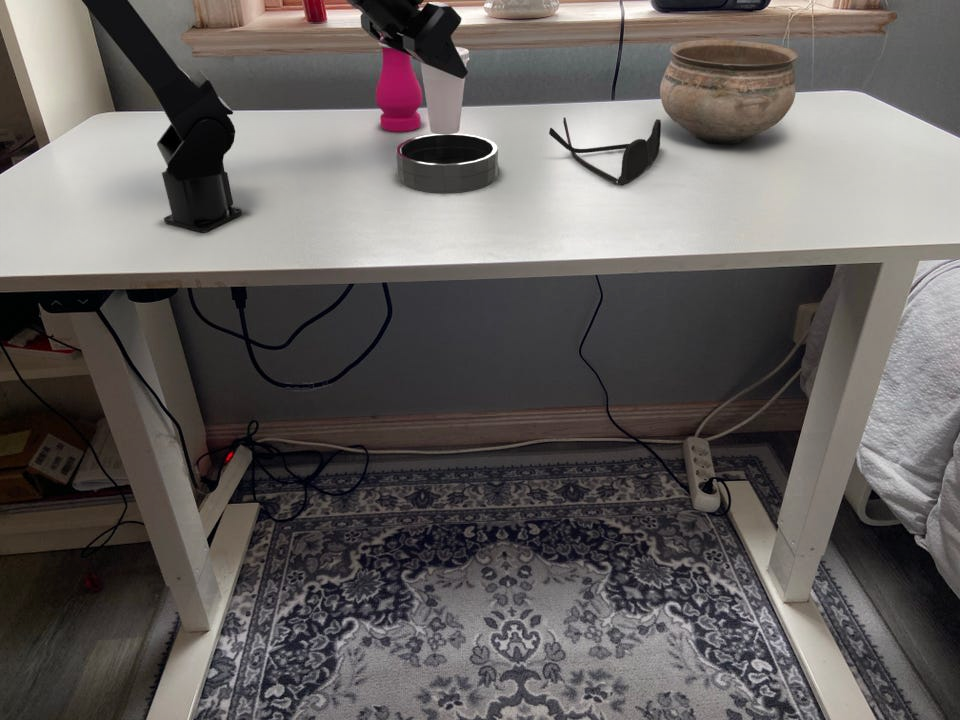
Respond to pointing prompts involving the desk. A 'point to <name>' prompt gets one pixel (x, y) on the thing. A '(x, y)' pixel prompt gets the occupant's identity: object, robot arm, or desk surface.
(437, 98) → the smoothie
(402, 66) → the pepper mill
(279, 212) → the desk surface
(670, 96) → the cooking pot
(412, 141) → the pan
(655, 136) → the sunglasses
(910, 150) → the desk surface
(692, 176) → the desk surface
